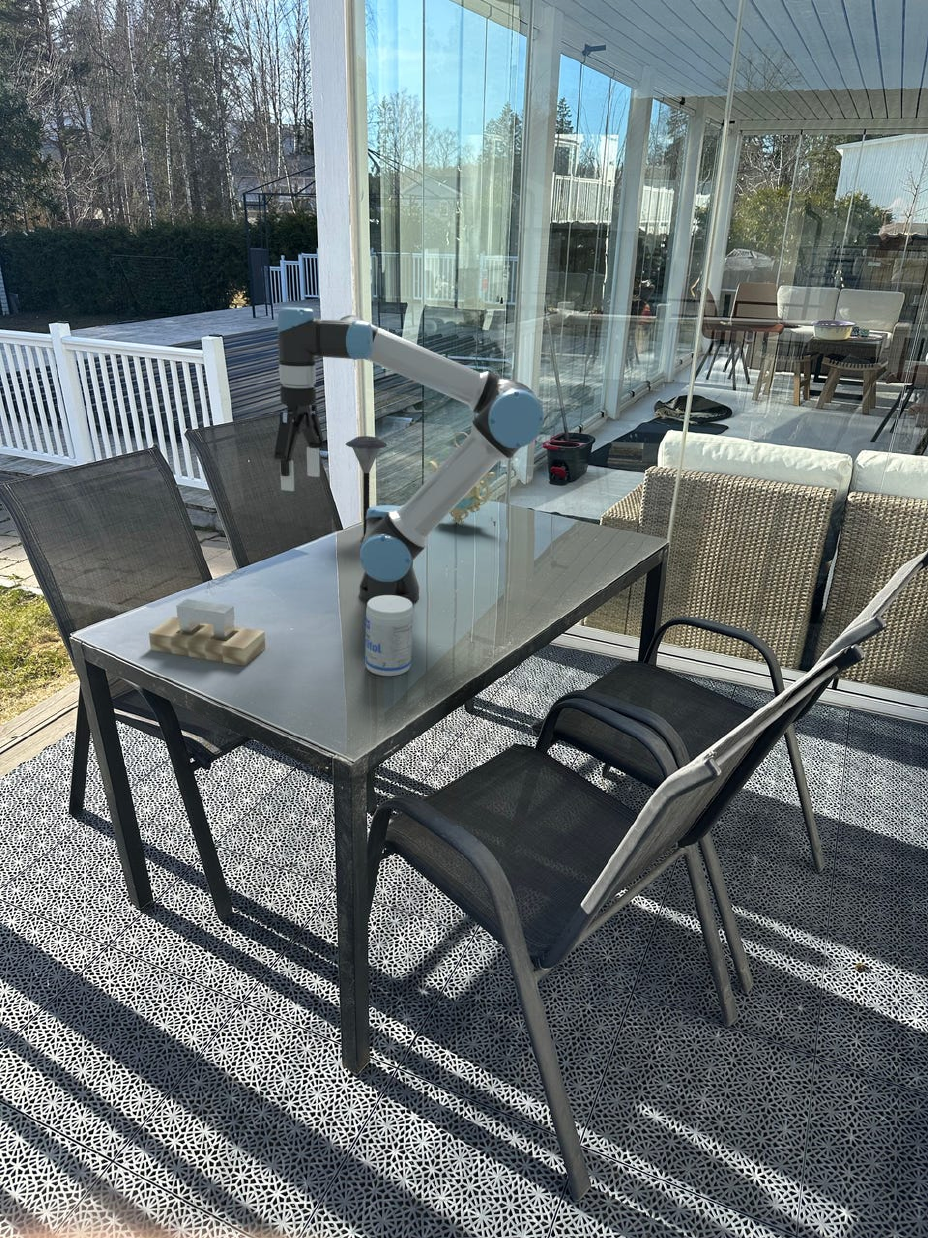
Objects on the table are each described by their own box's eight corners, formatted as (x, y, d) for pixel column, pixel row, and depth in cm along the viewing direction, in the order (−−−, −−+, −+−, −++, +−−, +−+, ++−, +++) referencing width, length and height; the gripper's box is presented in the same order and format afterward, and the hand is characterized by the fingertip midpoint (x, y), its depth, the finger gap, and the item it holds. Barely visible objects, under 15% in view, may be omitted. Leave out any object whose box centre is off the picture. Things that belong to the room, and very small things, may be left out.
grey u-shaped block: (236, 648, 176) (233, 606, 172) (227, 656, 173) (224, 613, 169) (190, 641, 179) (186, 599, 175) (180, 648, 175) (176, 605, 171)
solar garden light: (352, 544, 243) (352, 443, 231) (341, 532, 253) (340, 434, 241) (391, 541, 248) (393, 441, 236) (379, 529, 258) (380, 433, 246)
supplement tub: (356, 667, 171) (355, 602, 165) (388, 653, 178) (389, 590, 172) (388, 682, 166) (389, 616, 160) (420, 667, 173) (422, 603, 167)
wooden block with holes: (265, 648, 177) (264, 631, 176) (245, 666, 169) (244, 648, 168) (174, 633, 182) (172, 616, 180) (150, 649, 174) (148, 632, 172)
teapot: (417, 522, 267) (420, 429, 255) (435, 514, 276) (439, 424, 264) (481, 536, 256) (487, 440, 244) (498, 527, 266) (505, 434, 254)
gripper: (306, 376, 186) (308, 468, 195) (254, 391, 164) (259, 494, 172) (336, 379, 185) (338, 472, 193) (288, 394, 162) (292, 498, 171)
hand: (301, 483), depth 183 cm, fingers open, 13 cm apart
